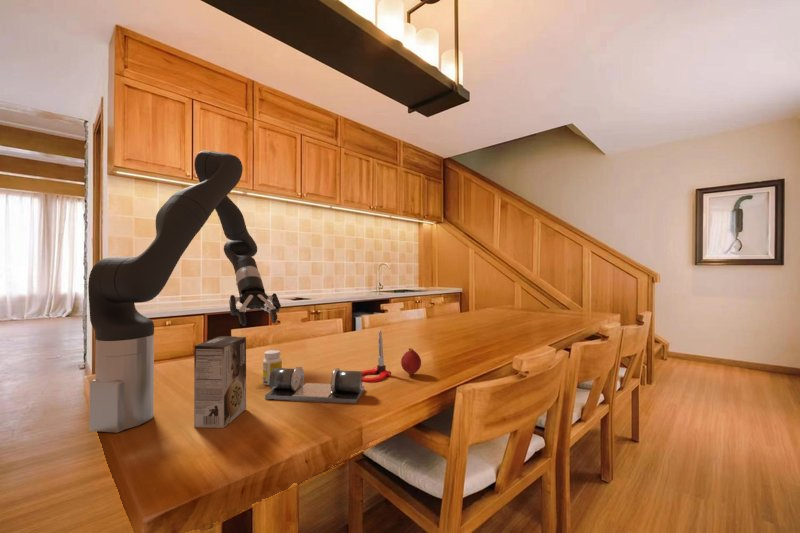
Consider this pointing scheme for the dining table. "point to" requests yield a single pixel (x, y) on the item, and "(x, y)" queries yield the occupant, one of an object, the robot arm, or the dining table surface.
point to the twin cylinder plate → (315, 386)
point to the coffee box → (219, 381)
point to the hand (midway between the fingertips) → (260, 323)
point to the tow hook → (381, 367)
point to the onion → (411, 362)
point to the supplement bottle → (270, 364)
